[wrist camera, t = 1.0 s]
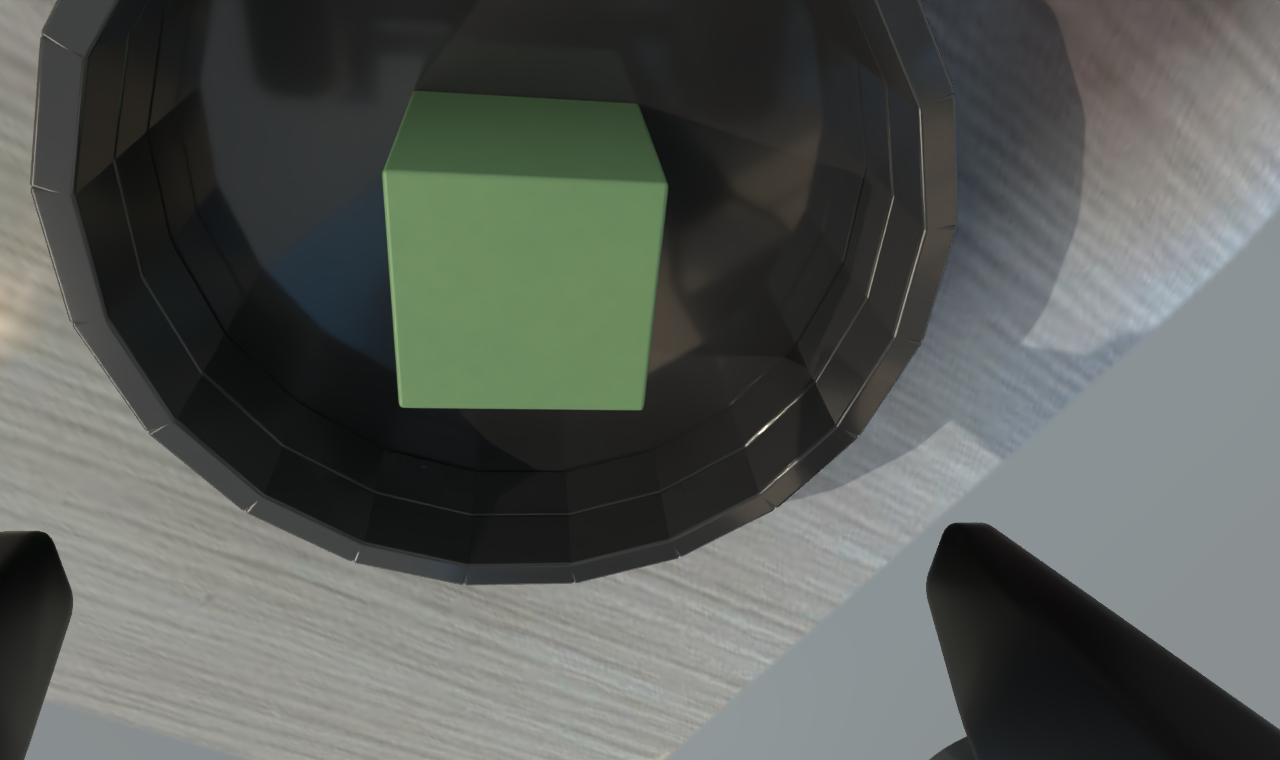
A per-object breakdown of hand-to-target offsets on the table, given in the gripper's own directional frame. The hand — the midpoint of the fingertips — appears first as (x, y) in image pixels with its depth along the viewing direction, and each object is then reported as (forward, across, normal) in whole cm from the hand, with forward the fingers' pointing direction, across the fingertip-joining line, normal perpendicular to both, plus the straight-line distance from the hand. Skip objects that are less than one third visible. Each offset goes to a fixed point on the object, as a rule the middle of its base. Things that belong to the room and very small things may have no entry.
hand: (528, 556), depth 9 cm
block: (+9, 0, 0) cm, 9 cm away
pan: (+10, 0, 0) cm, 10 cm away
